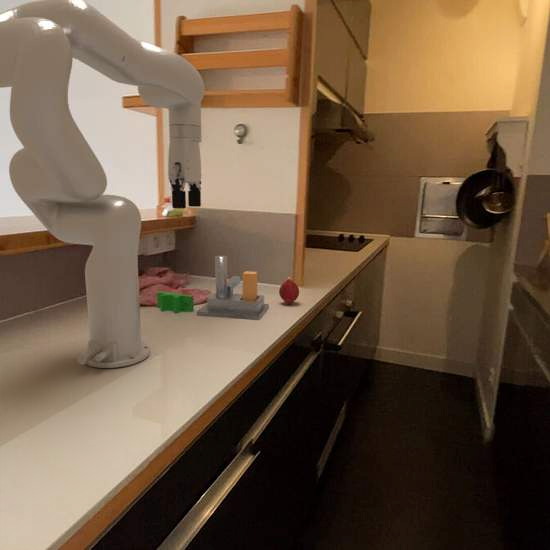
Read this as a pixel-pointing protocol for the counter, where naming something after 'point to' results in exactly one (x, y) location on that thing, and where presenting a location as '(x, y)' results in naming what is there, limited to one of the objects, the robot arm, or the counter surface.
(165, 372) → the counter surface
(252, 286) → the orange rectangular block
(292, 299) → the onion
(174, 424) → the counter surface
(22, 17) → the robot arm
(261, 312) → the grey post stand
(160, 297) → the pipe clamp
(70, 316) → the counter surface
